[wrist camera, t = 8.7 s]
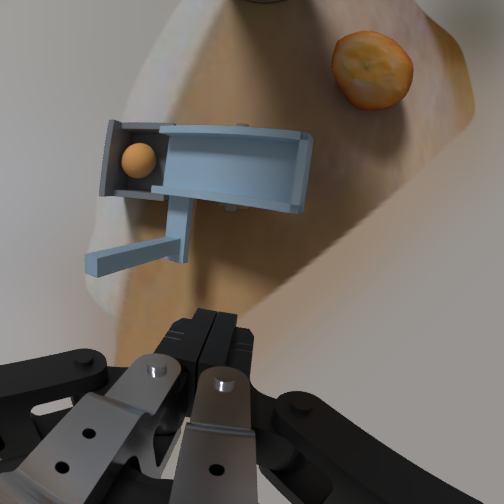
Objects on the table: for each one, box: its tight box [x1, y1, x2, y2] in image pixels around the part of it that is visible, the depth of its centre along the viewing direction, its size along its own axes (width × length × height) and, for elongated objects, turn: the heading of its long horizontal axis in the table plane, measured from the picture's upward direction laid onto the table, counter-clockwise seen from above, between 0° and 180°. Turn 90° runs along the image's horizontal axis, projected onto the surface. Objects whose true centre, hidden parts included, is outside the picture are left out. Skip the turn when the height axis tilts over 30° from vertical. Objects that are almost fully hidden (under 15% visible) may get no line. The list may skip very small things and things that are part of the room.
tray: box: [99, 120, 176, 201], centre depth 26 cm, size 7×7×5 cm
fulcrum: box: [217, 124, 250, 212], centre depth 26 cm, size 7×3×6 cm, turn 172°
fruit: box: [331, 31, 413, 110], centre depth 23 cm, size 8×8×8 cm
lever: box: [85, 125, 314, 278], centre depth 19 cm, size 11×12×10 cm
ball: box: [121, 143, 156, 178], centre depth 26 cm, size 4×4×4 cm
